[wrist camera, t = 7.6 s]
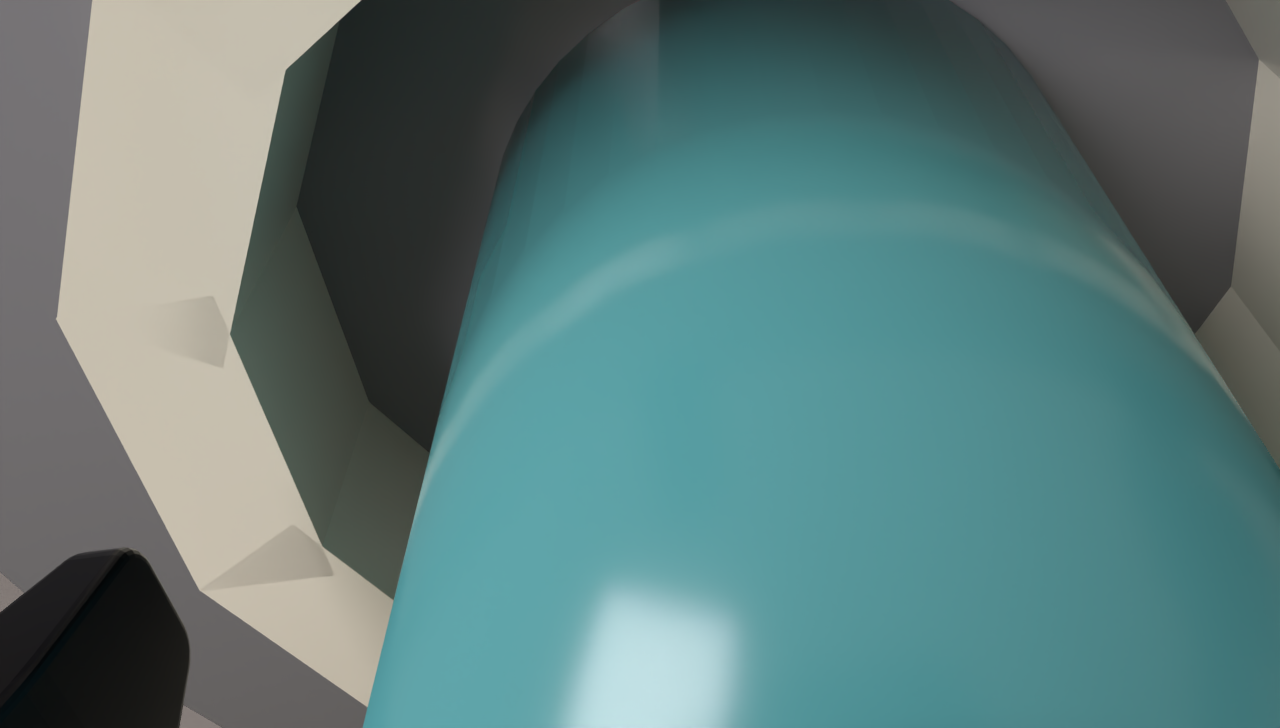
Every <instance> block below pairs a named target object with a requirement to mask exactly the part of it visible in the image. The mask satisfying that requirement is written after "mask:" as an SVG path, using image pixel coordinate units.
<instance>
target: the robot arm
mask: <svg viewBox="0 0 1280 728" xmlns="http://www.w3.org/2000/svg"><path fill="white" fill-rule="evenodd" d="M189 669H190V643H189V638H188V634H187V631H186V629H185V626H184V624H183V622H182V620H181V619H180V617H179V615H178V613H177V611H176V610H175V608H174V606H173V604H172V602H171V601H170V599H169V597H168V595H167V593H166V592H165V590H164V588H163V586H162V584H161V582H160V581H159V579H158V577H157V575H156V573H155V572H154V570H153V568H152V566H151V564H150V563H149V561H148V560H147V558H146V557H145V556H144V555H143V554H142V553H140V552H139V551H138V550H136V549H132V548H127V547H122V548H114V549H106V550H98V551H90V552H83V553H79V554H76V555H74V556H71V557H70V558H68V559H67V560H65V561H64V562H63V563H61V564H60V565H59V566H58V567H56V568H55V569H54V570H53V571H51V572H50V573H49V574H48V575H46V576H45V577H44V578H43V579H41V580H40V581H39V582H38V583H36V584H35V585H34V586H33V587H31V588H30V589H29V590H28V591H26V592H25V593H24V594H23V595H21V596H20V597H19V598H18V599H16V600H15V601H14V602H13V603H11V604H10V605H9V606H8V607H6V608H5V609H4V610H3V611H1V612H0V728H179V726H180V720H181V715H182V709H183V703H184V697H185V692H186V686H187V680H188V675H189Z"/></svg>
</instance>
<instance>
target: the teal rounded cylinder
mask: <svg viewBox="0 0 1280 728" xmlns="http://www.w3.org/2000/svg"><path fill="white" fill-rule="evenodd" d="M363 728H1280V469H1279V467H1278V465H1277V464H1276V462H1275V461H1274V459H1273V457H1272V456H1271V454H1270V453H1269V451H1268V450H1267V448H1266V446H1265V445H1264V443H1263V442H1262V440H1261V439H1260V437H1259V435H1258V434H1257V432H1256V431H1255V429H1254V427H1253V426H1252V424H1251V423H1250V421H1249V420H1248V418H1247V416H1246V415H1245V413H1244V412H1243V410H1242V408H1241V407H1240V405H1239V404H1238V402H1237V401H1236V399H1235V397H1234V396H1233V394H1232V393H1231V391H1230V389H1229V388H1228V386H1227V385H1226V383H1225V382H1224V380H1223V378H1222V377H1221V375H1220V374H1219V372H1218V370H1217V369H1216V367H1215V366H1214V364H1213V363H1212V361H1211V359H1210V358H1209V356H1208V355H1207V353H1206V352H1205V350H1204V348H1203V347H1202V345H1201V344H1200V342H1199V340H1198V339H1197V337H1196V336H1195V334H1194V333H1193V331H1192V329H1191V328H1190V326H1189V325H1188V323H1187V321H1186V320H1185V318H1184V317H1183V315H1182V314H1181V312H1180V310H1179V309H1178V307H1177V306H1176V304H1175V302H1174V301H1173V299H1172V298H1171V296H1170V295H1169V293H1168V291H1167V290H1166V288H1165V287H1164V285H1163V283H1162V282H1161V280H1160V279H1159V277H1158V276H1157V274H1156V272H1155V271H1154V269H1153V268H1152V266H1151V264H1150V263H1149V261H1148V260H1147V258H1146V257H1145V255H1144V253H1143V252H1142V250H1141V249H1140V247H1139V246H1138V244H1137V242H1136V241H1135V239H1134V238H1133V236H1132V234H1131V233H1130V231H1129V230H1128V228H1127V227H1126V225H1125V223H1124V222H1123V220H1122V219H1121V217H1120V215H1119V214H1118V212H1117V211H1116V209H1115V208H1114V206H1113V204H1112V203H1111V201H1110V200H1109V198H1108V196H1107V195H1106V193H1105V192H1104V190H1103V189H1102V187H1101V185H1100V184H1099V182H1098V181H1097V179H1096V177H1095V176H1094V174H1093V173H1092V171H1091V170H1090V168H1089V166H1088V165H1087V163H1086V162H1085V160H1084V159H1083V157H1082V155H1081V154H1080V152H1079V151H1078V149H1077V147H1076V146H1075V144H1074V143H1073V141H1072V140H1071V138H1070V136H1069V135H1068V133H1067V132H1066V130H1065V128H1064V127H1063V125H1062V124H1061V122H1060V121H1059V119H1058V117H1057V116H1056V114H1055V113H1054V111H1053V109H1052V108H1051V106H1050V105H1049V103H1048V102H1047V100H1046V98H1045V97H1044V95H1043V94H1042V92H1041V90H1040V89H1039V87H1038V86H1037V84H1036V83H1035V81H1034V79H1033V78H1032V76H1031V75H1030V73H1029V72H1028V71H1027V70H1026V69H1025V67H1024V66H1023V65H1022V64H1021V62H1020V61H1019V60H1018V59H1017V57H1016V56H1015V55H1014V54H1013V52H1012V51H1011V50H1010V49H1009V47H1008V46H1007V45H1006V44H1005V43H1004V42H1002V41H1001V40H1000V39H999V38H998V37H997V36H996V35H995V34H994V33H993V32H991V31H990V30H989V29H988V28H987V27H986V26H985V25H984V24H983V23H982V22H981V21H979V20H978V19H976V18H975V17H973V16H972V15H970V14H969V13H967V12H966V11H964V10H963V9H961V8H960V7H958V6H957V5H955V4H954V3H952V2H951V1H949V0H639V1H637V2H635V3H634V4H632V5H630V6H628V7H626V8H624V9H622V10H621V11H619V12H618V13H617V14H615V15H614V16H612V17H611V18H610V19H608V20H607V21H605V22H604V23H603V24H601V25H600V26H598V27H597V28H596V29H594V30H593V31H591V32H590V33H589V34H588V35H587V36H585V37H584V38H583V39H582V40H581V41H580V42H579V43H578V44H577V45H576V46H575V47H574V48H573V49H572V50H571V51H570V52H568V53H567V54H566V55H565V56H564V57H563V58H562V59H561V60H560V61H559V62H558V63H557V65H556V66H555V67H554V68H553V70H552V71H551V72H550V73H549V75H548V76H547V77H546V78H545V80H544V81H543V82H542V83H541V85H540V86H539V87H538V88H537V89H536V91H535V92H534V94H533V96H532V97H531V99H530V101H529V102H528V104H527V106H526V107H525V109H524V111H523V112H522V114H521V116H520V118H519V119H518V121H517V123H516V125H515V127H514V130H513V132H512V135H511V137H510V139H509V142H508V144H507V147H506V149H505V151H504V154H503V157H502V161H501V165H500V168H499V172H498V176H497V180H496V184H495V188H494V192H493V197H492V201H491V205H490V209H489V213H488V217H487V221H486V225H485V229H484V233H483V237H482V242H481V246H480V250H479V254H478V258H477V262H476V266H475V270H474V274H473V278H472V282H471V286H470V291H469V295H468V299H467V303H466V307H465V311H464V315H463V319H462V323H461V327H460V331H459V336H458V340H457V344H456V348H455V352H454V356H453V360H452V364H451V368H450V372H449V376H448V381H447V385H446V389H445V393H444V397H443V401H442V405H441V409H440V413H439V417H438V421H437V425H436V430H435V434H434V438H433V442H432V446H431V450H430V454H429V458H428V462H427V466H426V470H425V475H424V479H423V483H422V487H421V491H420V495H419V499H418V503H417V507H416V511H415V515H414V520H413V524H412V528H411V532H410V536H409V540H408V544H407V548H406V552H405V556H404V560H403V565H402V569H401V573H400V577H399V581H398V585H397V589H396V593H395V597H394V601H393V605H392V609H391V614H390V618H389V622H388V626H387V630H386V634H385V638H384V642H383V646H382V650H381V654H380V659H379V663H378V667H377V671H376V675H375V679H374V683H373V687H372V691H371V695H370V699H369V704H368V708H367V712H366V716H365V720H364V724H363Z"/></svg>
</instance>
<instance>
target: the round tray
mask: <svg viewBox="0 0 1280 728" xmlns="http://www.w3.org/2000/svg"><path fill="white" fill-rule="evenodd" d="M637 1H639V0H0V572H1V573H2V574H3V575H4V576H5V577H6V578H8V579H9V580H10V581H11V582H12V583H13V584H15V585H16V586H17V587H18V588H19V589H20V590H22V591H23V592H24V593H25V592H26V591H28V590H29V589H30V588H31V587H33V586H34V585H35V584H36V583H38V582H39V581H40V580H41V579H43V578H44V577H45V576H46V575H48V574H49V573H50V572H51V571H53V570H54V569H55V568H56V567H58V566H59V565H60V564H61V563H63V562H64V561H65V560H67V559H68V558H70V557H71V556H74V555H76V554H79V553H83V552H90V551H98V550H106V549H114V548H122V547H127V548H132V549H136V550H138V551H139V552H140V553H142V554H143V555H144V556H145V557H146V558H147V560H148V561H149V563H150V564H151V566H152V568H153V570H154V572H155V573H156V575H157V577H158V579H159V581H160V582H161V584H162V586H163V588H164V590H165V592H166V593H167V595H168V597H169V599H170V601H171V602H172V604H173V606H174V608H175V610H176V611H177V613H178V615H179V617H180V619H181V620H182V622H183V624H184V626H185V629H186V631H187V634H188V638H189V643H190V669H189V675H188V680H187V686H186V692H185V697H184V703H183V705H184V706H186V707H188V708H189V709H191V710H193V711H195V712H196V713H198V714H200V715H201V716H203V717H205V718H207V719H208V720H210V721H212V722H214V723H215V724H217V725H219V726H221V727H222V728H363V724H364V720H365V716H366V712H367V708H368V704H369V699H370V695H371V691H372V687H373V683H374V679H375V675H376V671H377V667H378V663H379V659H380V654H381V650H382V646H383V642H384V638H385V634H386V630H387V626H388V622H389V618H390V614H391V609H392V605H393V601H394V597H395V593H396V589H397V585H398V581H399V577H400V573H401V569H402V565H403V560H404V556H405V552H406V548H407V544H408V540H409V536H410V532H411V528H412V524H413V520H414V515H415V511H416V507H417V503H418V499H419V495H420V491H421V487H422V483H423V479H424V475H425V470H426V466H427V462H428V458H429V454H430V450H431V446H432V442H433V438H434V434H435V430H436V425H437V421H438V417H439V413H440V409H441V405H442V401H443V397H444V393H445V389H446V385H447V381H448V376H449V372H450V368H451V364H452V360H453V356H454V352H455V348H456V344H457V340H458V336H459V331H460V327H461V323H462V319H463V315H464V311H465V307H466V303H467V299H468V295H469V291H470V286H471V282H472V278H473V274H474V270H475V266H476V262H477V258H478V254H479V250H480V246H481V242H482V237H483V233H484V229H485V225H486V221H487V217H488V213H489V209H490V205H491V201H492V197H493V192H494V188H495V184H496V180H497V176H498V172H499V168H500V165H501V161H502V157H503V154H504V151H505V149H506V147H507V144H508V142H509V139H510V137H511V135H512V132H513V130H514V127H515V125H516V123H517V121H518V119H519V118H520V116H521V114H522V112H523V111H524V109H525V107H526V106H527V104H528V102H529V101H530V99H531V97H532V96H533V94H534V92H535V91H536V89H537V88H538V87H539V86H540V85H541V83H542V82H543V81H544V80H545V78H546V77H547V76H548V75H549V73H550V72H551V71H552V70H553V68H554V67H555V66H556V65H557V63H558V62H559V61H560V60H561V59H562V58H563V57H564V56H565V55H566V54H567V53H568V52H570V51H571V50H572V49H573V48H574V47H575V46H576V45H577V44H578V43H579V42H580V41H581V40H582V39H583V38H584V37H585V36H587V35H588V34H589V33H590V32H591V31H593V30H594V29H596V28H597V27H598V26H600V25H601V24H603V23H604V22H605V21H607V20H608V19H610V18H611V17H612V16H614V15H615V14H617V13H618V12H619V11H621V10H622V9H624V8H626V7H628V6H630V5H632V4H634V3H635V2H637ZM949 1H951V2H952V3H954V4H955V5H957V6H958V7H960V8H961V9H963V10H964V11H966V12H967V13H969V14H970V15H972V16H973V17H975V18H976V19H978V20H979V21H981V22H982V23H983V24H984V25H985V26H986V27H987V28H988V29H989V30H990V31H991V32H993V33H994V34H995V35H996V36H997V37H998V38H999V39H1000V40H1001V41H1002V42H1004V43H1005V44H1006V45H1007V46H1008V47H1009V49H1010V50H1011V51H1012V52H1013V54H1014V55H1015V56H1016V57H1017V59H1018V60H1019V61H1020V62H1021V64H1022V65H1023V66H1024V67H1025V69H1026V70H1027V71H1028V72H1029V73H1030V75H1031V76H1032V78H1033V79H1034V81H1035V83H1036V84H1037V86H1038V87H1039V89H1040V90H1041V92H1042V94H1043V95H1044V97H1045V98H1046V100H1047V102H1048V103H1049V105H1050V106H1051V108H1052V109H1053V111H1054V113H1055V114H1056V116H1057V117H1058V119H1059V121H1060V122H1061V124H1062V125H1063V127H1064V128H1065V130H1066V132H1067V133H1068V135H1069V136H1070V138H1071V140H1072V141H1073V143H1074V144H1075V146H1076V147H1077V149H1078V151H1079V152H1080V154H1081V155H1082V157H1083V159H1084V160H1085V162H1086V163H1087V165H1088V166H1089V168H1090V170H1091V171H1092V173H1093V174H1094V176H1095V177H1096V179H1097V181H1098V182H1099V184H1100V185H1101V187H1102V189H1103V190H1104V192H1105V193H1106V195H1107V196H1108V198H1109V200H1110V201H1111V203H1112V204H1113V206H1114V208H1115V209H1116V211H1117V212H1118V214H1119V215H1120V217H1121V219H1122V220H1123V222H1124V223H1125V225H1126V227H1127V228H1128V230H1129V231H1130V233H1131V234H1132V236H1133V238H1134V239H1135V241H1136V242H1137V244H1138V246H1139V247H1140V249H1141V250H1142V252H1143V253H1144V255H1145V257H1146V258H1147V260H1148V261H1149V263H1150V264H1151V266H1152V268H1153V269H1154V271H1155V272H1156V274H1157V276H1158V277H1159V279H1160V280H1161V282H1162V283H1163V285H1164V287H1165V288H1166V290H1167V291H1168V293H1169V295H1170V296H1171V298H1172V299H1173V301H1174V302H1175V304H1176V306H1177V307H1178V309H1179V310H1180V312H1181V314H1182V315H1183V317H1184V318H1185V320H1186V321H1187V323H1188V325H1189V326H1190V328H1191V329H1192V331H1193V333H1194V334H1195V336H1196V337H1197V339H1198V340H1199V342H1200V344H1201V345H1202V347H1203V348H1204V350H1205V352H1206V353H1207V355H1208V356H1209V358H1210V359H1211V361H1212V363H1213V364H1214V366H1215V367H1216V369H1217V370H1218V372H1219V374H1220V375H1221V377H1222V378H1223V380H1224V382H1225V383H1226V385H1227V386H1228V388H1229V389H1230V391H1231V393H1232V394H1233V396H1234V397H1235V399H1236V401H1237V402H1238V404H1239V405H1240V407H1241V408H1242V410H1243V412H1244V413H1245V415H1246V416H1247V418H1248V420H1249V421H1250V423H1251V424H1252V426H1253V427H1254V429H1255V431H1256V432H1257V434H1258V435H1259V437H1260V439H1261V440H1262V442H1263V443H1264V445H1265V446H1266V448H1267V450H1268V451H1269V453H1270V454H1271V456H1272V457H1273V459H1274V461H1275V462H1276V464H1277V465H1278V467H1279V469H1280V0H949Z"/></svg>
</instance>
